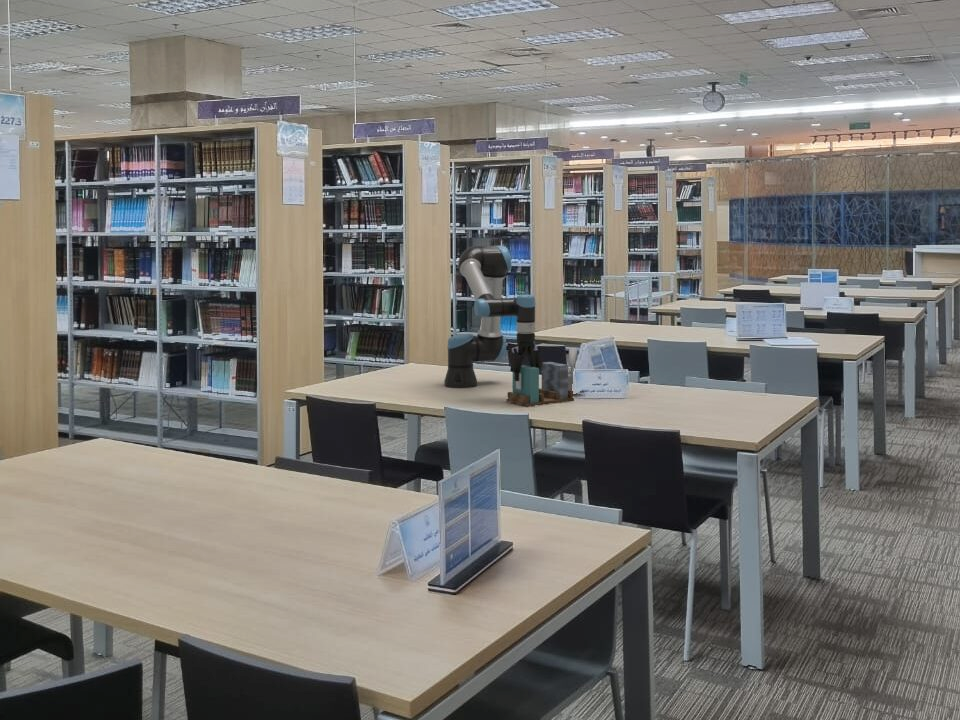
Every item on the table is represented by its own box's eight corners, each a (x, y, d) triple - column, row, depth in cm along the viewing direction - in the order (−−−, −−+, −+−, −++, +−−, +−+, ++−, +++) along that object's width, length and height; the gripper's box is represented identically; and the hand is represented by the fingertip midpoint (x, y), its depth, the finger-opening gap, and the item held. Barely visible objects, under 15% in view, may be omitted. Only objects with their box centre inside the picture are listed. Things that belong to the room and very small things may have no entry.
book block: (512, 398, 409) (512, 365, 407) (521, 397, 412) (521, 364, 410) (530, 403, 400) (530, 369, 398) (538, 401, 402) (539, 368, 400)
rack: (506, 402, 409) (506, 365, 407) (552, 395, 423) (553, 361, 421) (526, 407, 397) (526, 369, 395) (573, 400, 412) (574, 364, 409)
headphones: (582, 397, 420) (583, 350, 417) (561, 396, 421) (561, 350, 418) (584, 390, 438) (585, 345, 435) (564, 389, 439) (564, 345, 437)
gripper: (512, 334, 393) (512, 391, 396) (550, 331, 404) (549, 386, 407) (501, 333, 399) (501, 389, 403) (538, 330, 410) (538, 384, 414)
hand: (525, 387), depth 405 cm, fingers open, 7 cm apart
